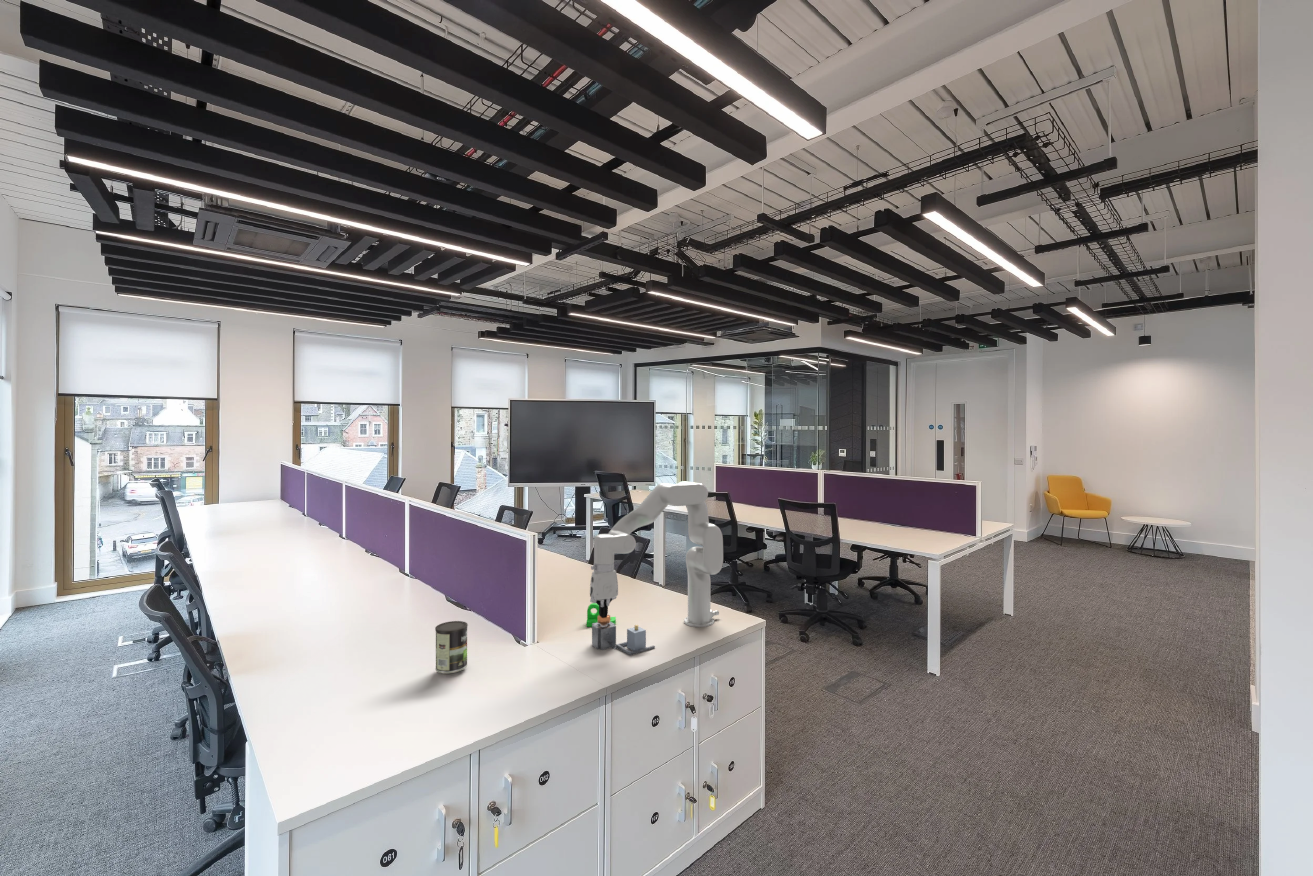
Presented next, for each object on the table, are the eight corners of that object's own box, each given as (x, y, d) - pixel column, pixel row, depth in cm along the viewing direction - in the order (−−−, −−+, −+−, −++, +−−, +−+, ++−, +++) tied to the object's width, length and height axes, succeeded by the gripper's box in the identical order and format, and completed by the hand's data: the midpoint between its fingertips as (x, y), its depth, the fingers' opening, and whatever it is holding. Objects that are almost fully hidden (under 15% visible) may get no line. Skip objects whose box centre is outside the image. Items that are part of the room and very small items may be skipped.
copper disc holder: (607, 640, 208) (607, 620, 208) (617, 646, 201) (617, 625, 201) (590, 644, 203) (590, 624, 203) (599, 651, 197) (600, 629, 197)
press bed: (640, 640, 207) (640, 636, 207) (658, 651, 197) (658, 646, 197) (611, 648, 200) (611, 644, 200) (628, 659, 190) (628, 654, 190)
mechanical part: (586, 626, 223) (586, 607, 223) (587, 622, 229) (587, 603, 229) (615, 626, 224) (615, 607, 224) (615, 621, 230) (615, 602, 230)
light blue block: (638, 644, 202) (638, 622, 202) (645, 649, 198) (645, 626, 198) (627, 647, 199) (627, 625, 199) (634, 652, 195) (634, 628, 195)
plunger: (606, 635, 206) (606, 613, 206) (612, 639, 202) (612, 616, 202) (595, 638, 203) (595, 615, 203) (601, 642, 199) (601, 619, 199)
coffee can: (469, 660, 189) (470, 619, 189) (464, 672, 179) (464, 630, 179) (439, 662, 187) (439, 621, 187) (431, 674, 177) (431, 632, 177)
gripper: (591, 572, 195) (590, 623, 195) (626, 567, 204) (625, 615, 203) (581, 568, 201) (580, 617, 201) (615, 563, 210) (615, 610, 210)
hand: (603, 616), depth 202 cm, fingers closed
